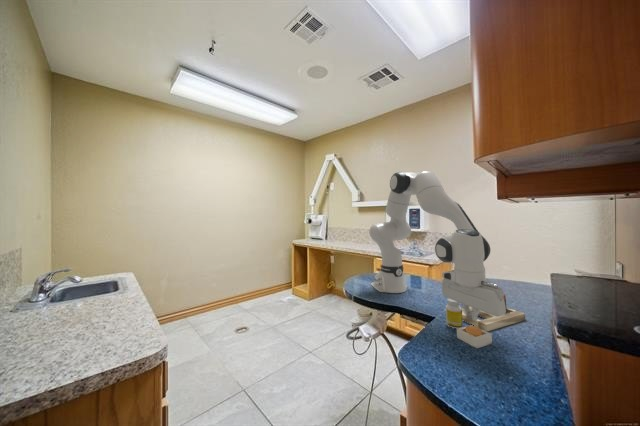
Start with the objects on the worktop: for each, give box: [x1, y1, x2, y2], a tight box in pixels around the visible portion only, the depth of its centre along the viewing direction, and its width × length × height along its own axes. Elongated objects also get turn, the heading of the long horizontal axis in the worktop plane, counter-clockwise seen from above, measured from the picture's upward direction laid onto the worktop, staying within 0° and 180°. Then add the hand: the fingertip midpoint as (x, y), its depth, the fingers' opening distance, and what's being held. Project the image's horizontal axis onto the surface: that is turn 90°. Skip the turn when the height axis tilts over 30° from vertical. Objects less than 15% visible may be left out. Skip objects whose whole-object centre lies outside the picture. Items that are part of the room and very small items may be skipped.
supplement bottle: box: [445, 298, 464, 330], centre depth 88 cm, size 5×5×10 cm
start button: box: [465, 325, 482, 337], centre depth 78 cm, size 4×4×3 cm
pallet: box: [462, 306, 526, 332], centre depth 93 cm, size 14×22×2 cm, turn 109°
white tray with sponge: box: [456, 324, 493, 349], centre depth 78 cm, size 7×7×3 cm
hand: (471, 318), depth 78 cm, fingers closed
